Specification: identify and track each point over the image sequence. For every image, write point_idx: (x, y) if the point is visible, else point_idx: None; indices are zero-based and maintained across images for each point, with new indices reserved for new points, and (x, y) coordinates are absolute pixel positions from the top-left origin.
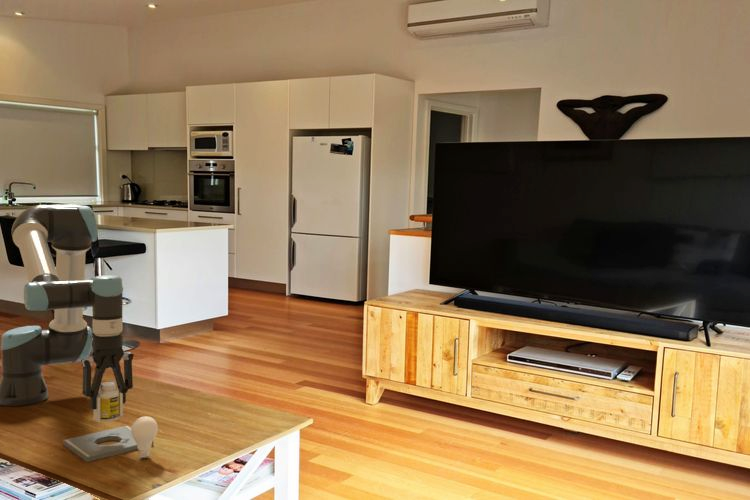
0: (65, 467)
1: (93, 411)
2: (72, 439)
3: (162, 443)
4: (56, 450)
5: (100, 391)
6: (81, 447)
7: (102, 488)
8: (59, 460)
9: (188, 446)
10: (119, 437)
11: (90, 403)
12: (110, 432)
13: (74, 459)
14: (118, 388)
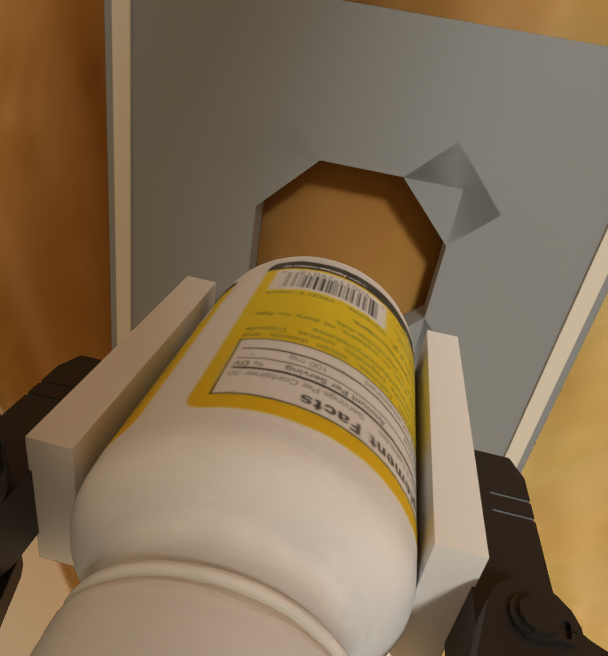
0: (22, 338)
1: (151, 312)
2: (168, 10)
3: (564, 485)
4: (49, 52)
5: (108, 530)
6: (149, 230)
7: (76, 582)
8: (21, 233)
9: (599, 602)
10: (439, 266)
11: (28, 403)
12: (472, 118)
13: (90, 287)
14: (479, 626)
